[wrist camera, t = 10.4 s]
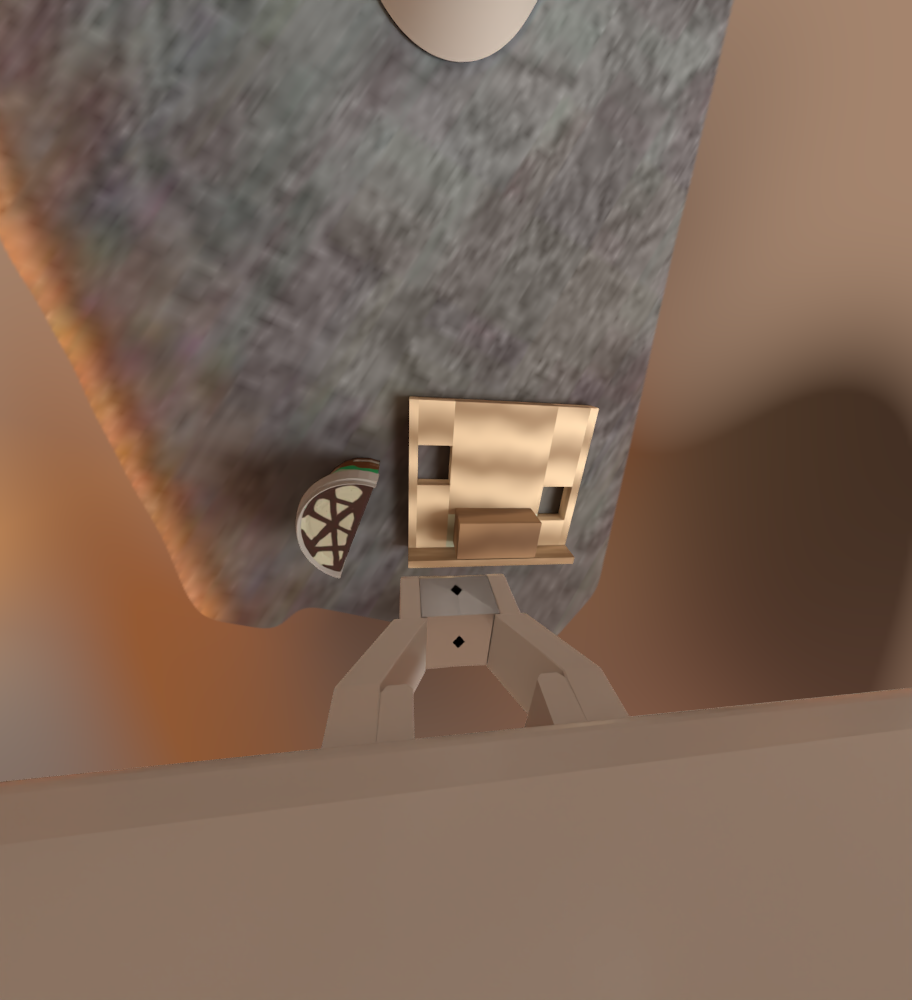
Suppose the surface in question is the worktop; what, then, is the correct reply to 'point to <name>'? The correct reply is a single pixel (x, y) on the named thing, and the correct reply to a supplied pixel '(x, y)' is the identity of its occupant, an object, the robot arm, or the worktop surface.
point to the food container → (335, 513)
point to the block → (495, 533)
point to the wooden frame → (494, 471)
